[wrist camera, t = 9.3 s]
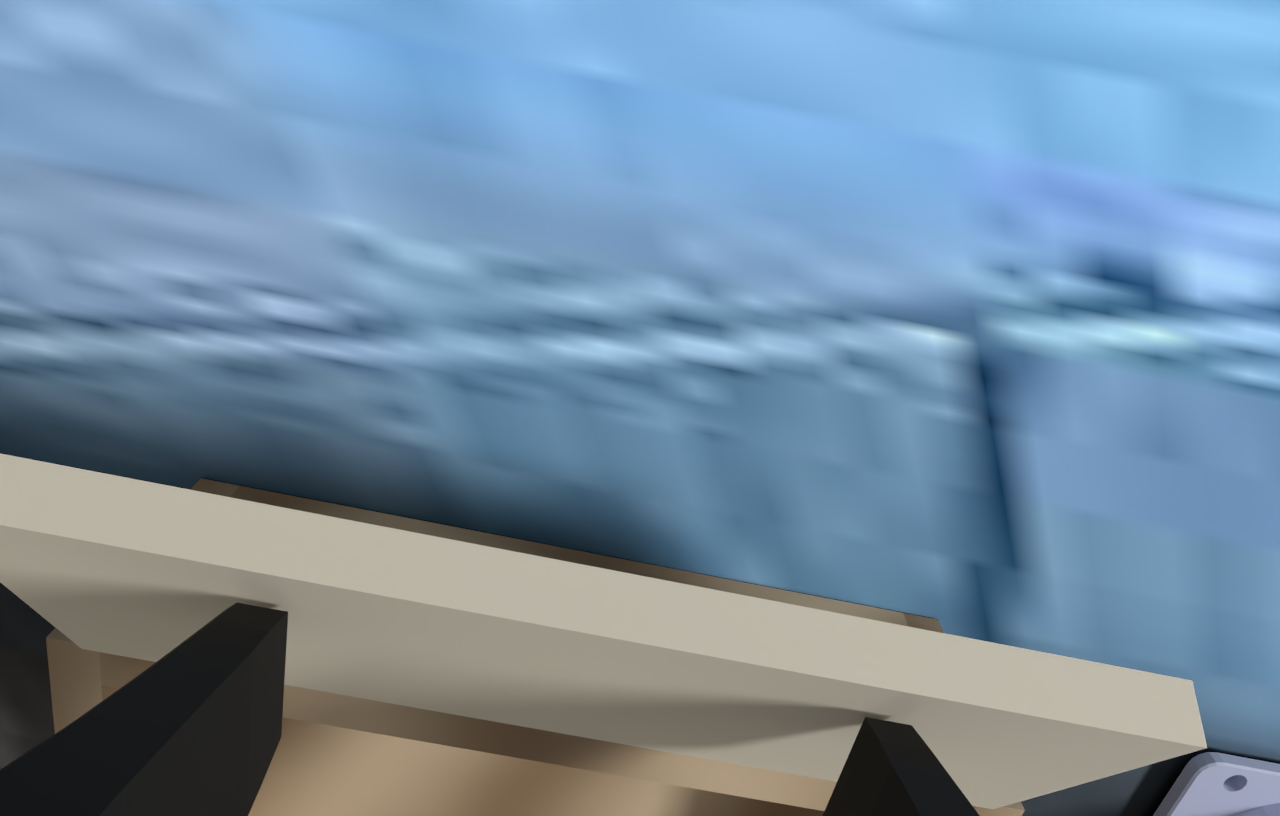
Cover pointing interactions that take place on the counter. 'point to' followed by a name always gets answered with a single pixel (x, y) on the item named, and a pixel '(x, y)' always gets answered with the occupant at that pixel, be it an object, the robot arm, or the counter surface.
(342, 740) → the kraft box
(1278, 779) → the robot arm
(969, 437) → the counter surface
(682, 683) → the flap
